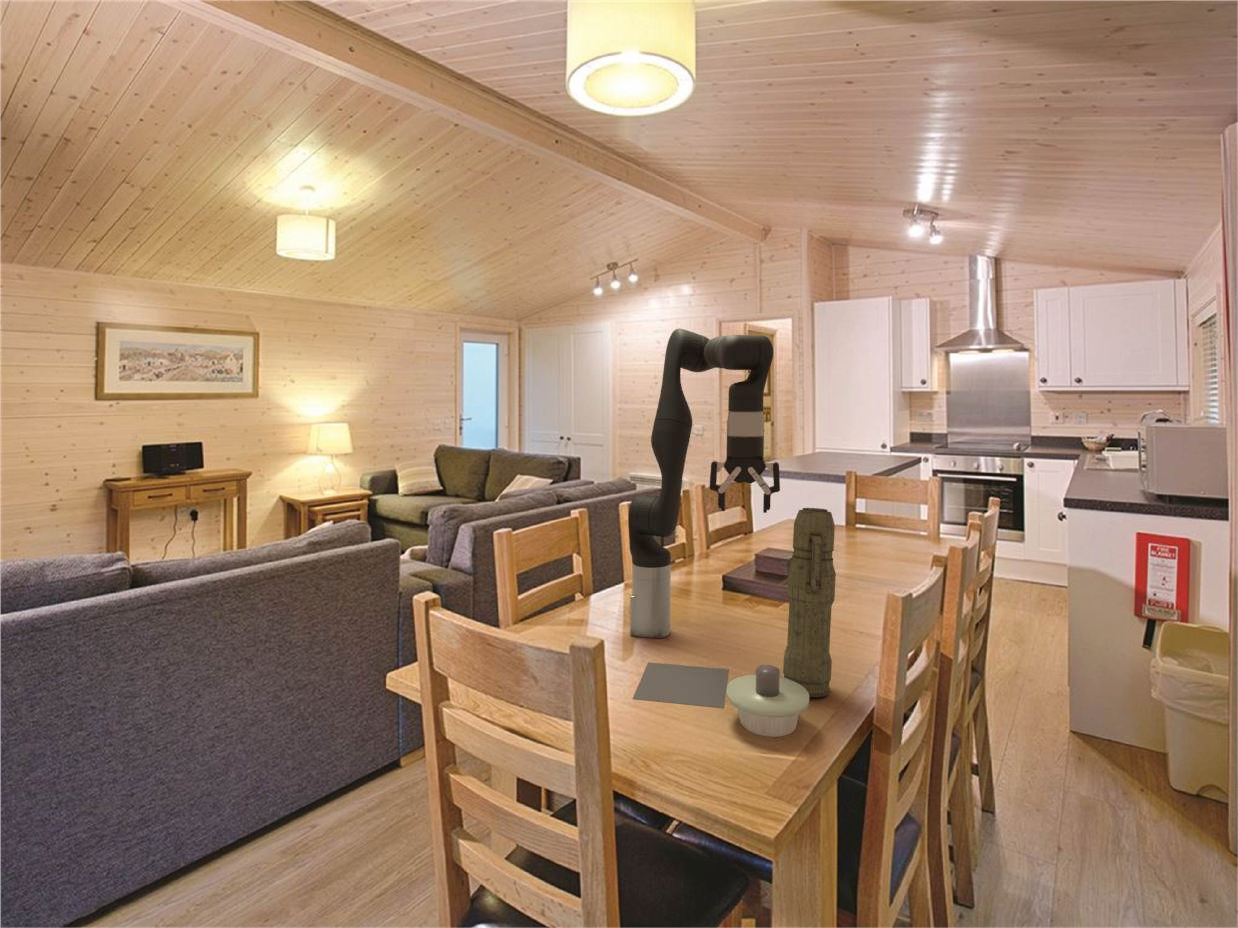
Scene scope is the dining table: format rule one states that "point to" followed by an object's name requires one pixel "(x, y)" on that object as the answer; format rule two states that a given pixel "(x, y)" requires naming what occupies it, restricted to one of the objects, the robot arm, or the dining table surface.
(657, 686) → the mat
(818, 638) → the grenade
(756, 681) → the lid
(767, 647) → the dining table surface
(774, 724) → the ramekin
